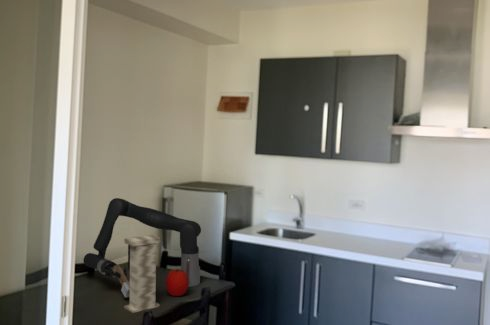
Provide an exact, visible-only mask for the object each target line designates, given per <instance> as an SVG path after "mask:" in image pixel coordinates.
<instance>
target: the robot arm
mask: <svg viewBox="0 0 490 325" xmlns="http://www.w3.org/2000/svg"><path fill="white" fill-rule="evenodd" d="M119 217H127V218H131V219H134V220H137V221H138V222H140V223H142V224H144V225H145V226H148V227H150V228H151V227H152V228H153V229H158V230H165V231H174V232H178V233H179V246H180V251H181V252H180V254H181V255H180V260H181V261H180V270H183V271H184V272H185V273H186V274H187V276H188V288H190V287H193V288H194V287H196V286H199V285H200V284H201V282H200V280H201V266H200V265H199V263H200V262H199V260H200V258H199V256H200V255H199V252H200V250H199V249H200V248H199V246H198V237H199V235H200V234H201V233H202V228H201V225H200V224H199V223H198V222H196V221H195V220H189V219H184V218H179V217H177V216H174V215H173V214H168V213H166V212H163V211H161V210H157V209H154V208H150V207H146V206H140V205H137V204H135V203H132V202H130V201H128V200H126V199H124V198H120V197H119V198H118V197H114V198H113V199H111V200H110V201H109V203H108V206H107V210H106V213H105V217H104V220H103V223H102V226H101V229H100V230H99V232H98V235H97V237H96V240H95V242H94V243H93V246H92V247H93V249H94V250H96V251H97V252H98V254H96V253H93V252H89V253H87V254H85V255H84V256H83V264H84V266H86V267H88V268H92V269H94V270H96V271H98V272H99V273H100V274H101V276H102V277H106V278H112V277H114V278H117V279H118V278H120V277H121V274H120V273H118V272H116V271H115V269H113V268H114V266H115V265H118V264H117V263H116V262H114V261H112V260H110V259H107V258H105V257H106V252H107V250H108V249H107V248H108V246H109V244H110V242H111V240H112V237H113V232H114V227H115V224H116V222H117V220H118V219H119ZM120 268H121V266H120ZM121 269H122V271H123V273H124V275H125V276H126V277H127V275H128V274H127V266H123V267H122V268H121Z"/></svg>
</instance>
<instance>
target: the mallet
mask: <svg viewBox="0 0 490 325" xmlns="http://www.w3.org/2000/svg"><path fill="white" fill-rule="evenodd" d="M120 267H121V266H120V264H117V265H115V266H114V268H113V269H115V271H116V272H118V273H120V274H121V277H120V278H118V277H117V279H118V281H119V282H120V284H121V289H120V291H121V293H122V294H123V296H124V298H130V280H128V279H127V276H125V275H124V273H123V271H122V269H121V268H120Z"/></svg>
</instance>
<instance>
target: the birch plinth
mask: <svg viewBox="0 0 490 325" xmlns="http://www.w3.org/2000/svg"><path fill="white" fill-rule="evenodd" d="M133 237H134V238H132V237H128V238H124V240H123V241H124V244H126V245H127V246H128V245H130V270H129V281H130V297H129V304H126V305H123V308H124V309H125V310H127V311H129V312H130V313H132V314H134V313H138V312H141V311H146V310H151V309H154V308H159V307H160V303H158V302H157V301H156V289H157V288H156V285H157V284H156V283H157V282H156V279H157V276H156V275H157V274H156V272H157V244H159V243H161V237H158V236H155V235H153V234H150V235H143V236H133Z"/></svg>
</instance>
